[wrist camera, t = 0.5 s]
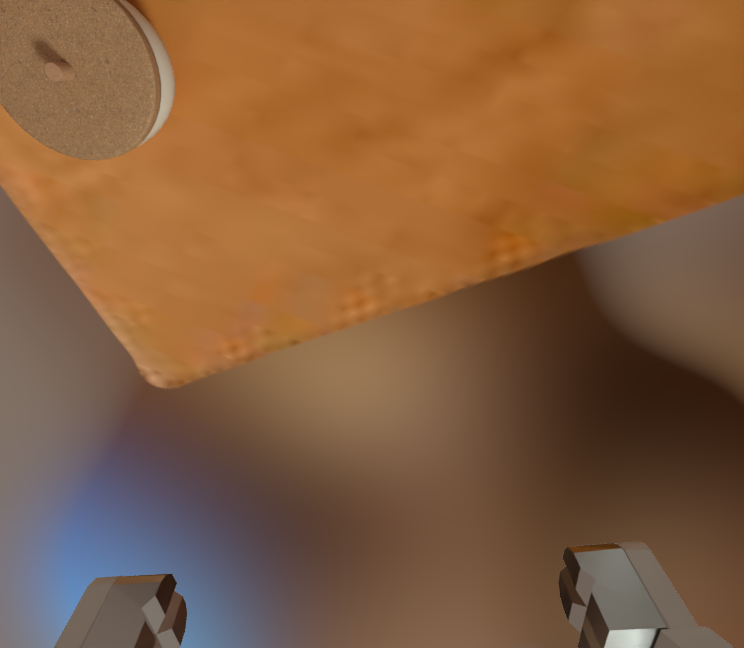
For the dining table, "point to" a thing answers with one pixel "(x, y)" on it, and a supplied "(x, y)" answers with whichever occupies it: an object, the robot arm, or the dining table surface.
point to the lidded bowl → (84, 75)
